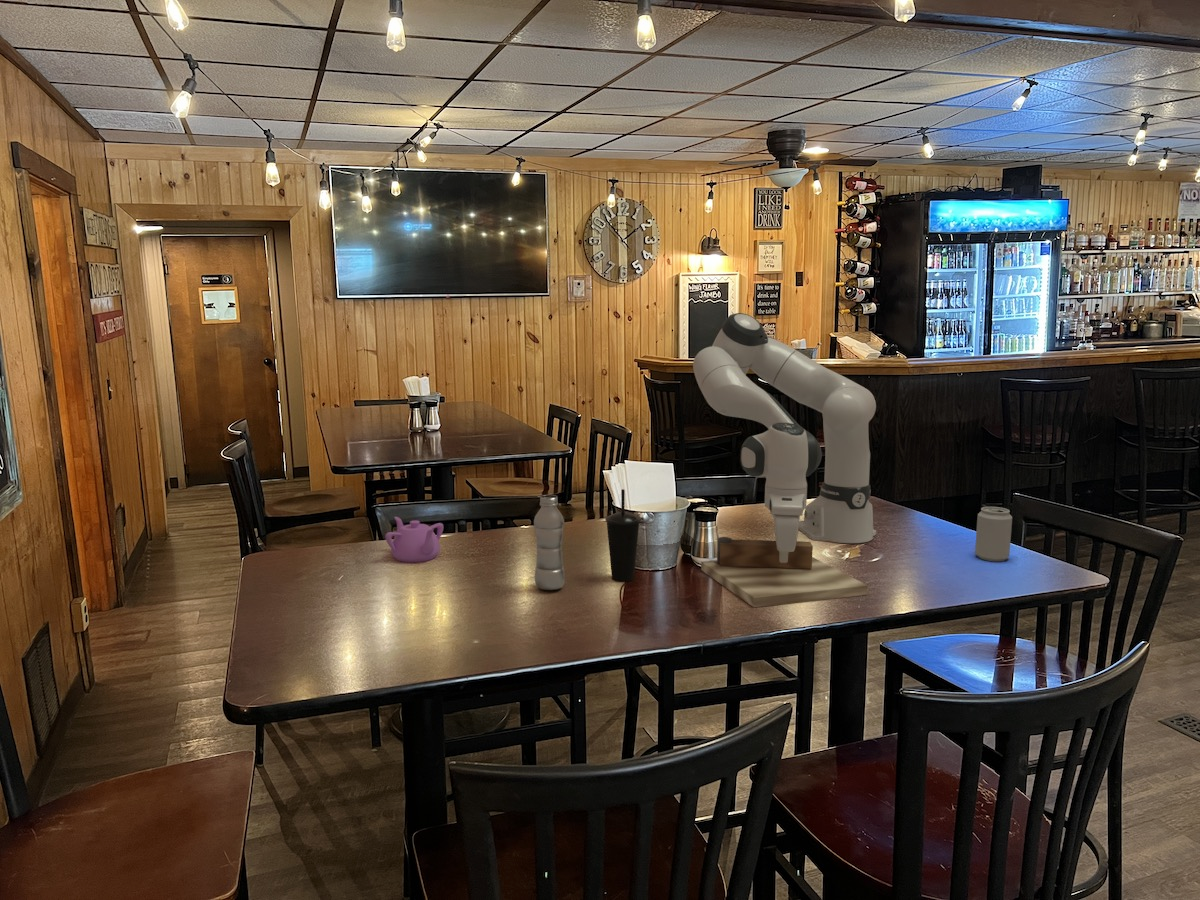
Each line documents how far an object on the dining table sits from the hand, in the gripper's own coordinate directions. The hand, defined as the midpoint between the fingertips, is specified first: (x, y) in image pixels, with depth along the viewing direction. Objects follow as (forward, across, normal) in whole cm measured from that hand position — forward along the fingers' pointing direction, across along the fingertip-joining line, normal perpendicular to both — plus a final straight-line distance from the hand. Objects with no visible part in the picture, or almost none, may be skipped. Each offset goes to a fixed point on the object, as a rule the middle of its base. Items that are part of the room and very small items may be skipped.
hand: (783, 561), depth 190 cm
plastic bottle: (+5, +14, -49) cm, 51 cm away
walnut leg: (+2, -4, -4) cm, 6 cm away
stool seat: (+4, +1, 0) cm, 4 cm away
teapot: (+5, -4, -86) cm, 86 cm away
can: (+4, -26, +50) cm, 56 cm away
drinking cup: (+5, +4, -35) cm, 35 cm away
